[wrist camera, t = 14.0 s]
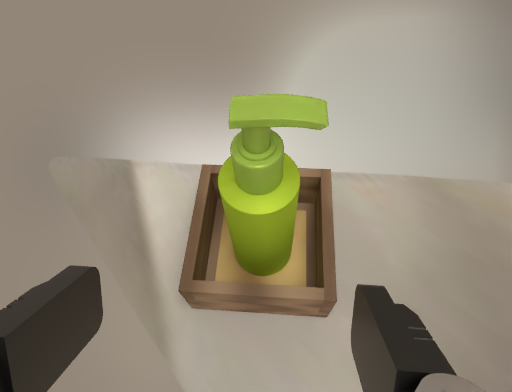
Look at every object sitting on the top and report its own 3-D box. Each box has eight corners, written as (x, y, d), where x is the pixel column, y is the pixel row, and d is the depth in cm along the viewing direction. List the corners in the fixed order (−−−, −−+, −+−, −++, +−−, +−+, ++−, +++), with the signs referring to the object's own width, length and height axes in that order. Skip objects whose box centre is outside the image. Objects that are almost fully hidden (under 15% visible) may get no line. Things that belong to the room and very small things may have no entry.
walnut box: (322, 199, 40) (330, 169, 34) (326, 317, 33) (336, 301, 28) (211, 194, 40) (202, 164, 35) (192, 308, 34) (178, 290, 29)
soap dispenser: (302, 277, 34) (333, 149, 17) (232, 275, 34) (193, 148, 17) (300, 223, 37) (325, 69, 20) (236, 222, 37) (206, 70, 20)
